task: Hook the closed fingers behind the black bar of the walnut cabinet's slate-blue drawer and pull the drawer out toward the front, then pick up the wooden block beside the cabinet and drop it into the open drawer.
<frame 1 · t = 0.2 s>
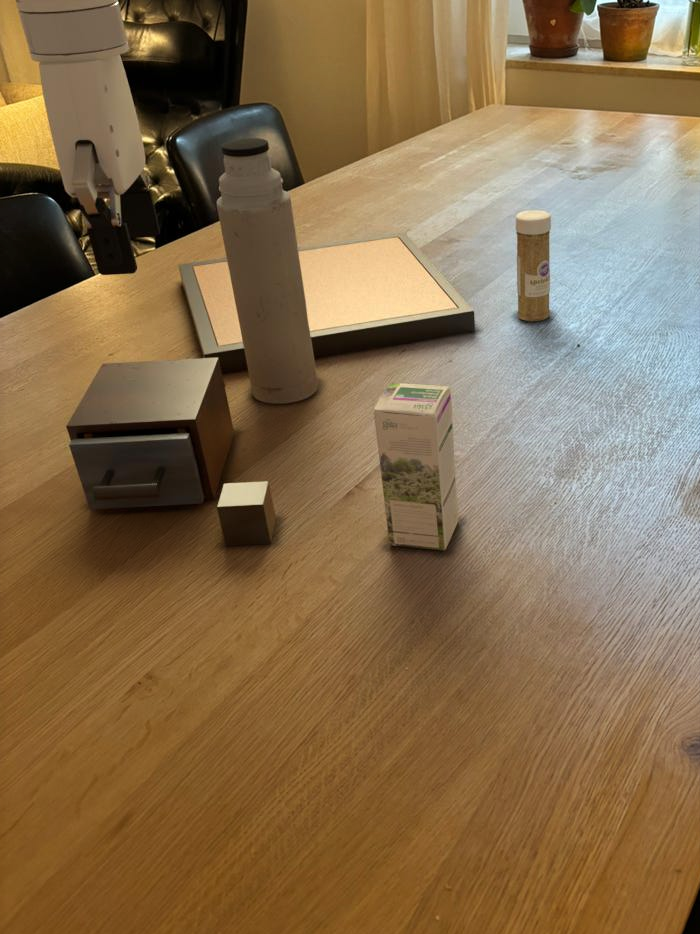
hand: (131, 254, 91), 25 cm above the table, tool pointing down, fingers open, 9 cm apart
syrup box: (424, 535, 99), on the table
block: (251, 532, 100), on the table
sprinkles bottle: (533, 317, 141), on the table
drawer: (146, 453, 104), point 5 cm above the table, slide at 1.0 cm
cabinet: (166, 467, 111), on the table
thermos bottle: (285, 391, 125), on the table
cork board: (319, 307, 146), on the table
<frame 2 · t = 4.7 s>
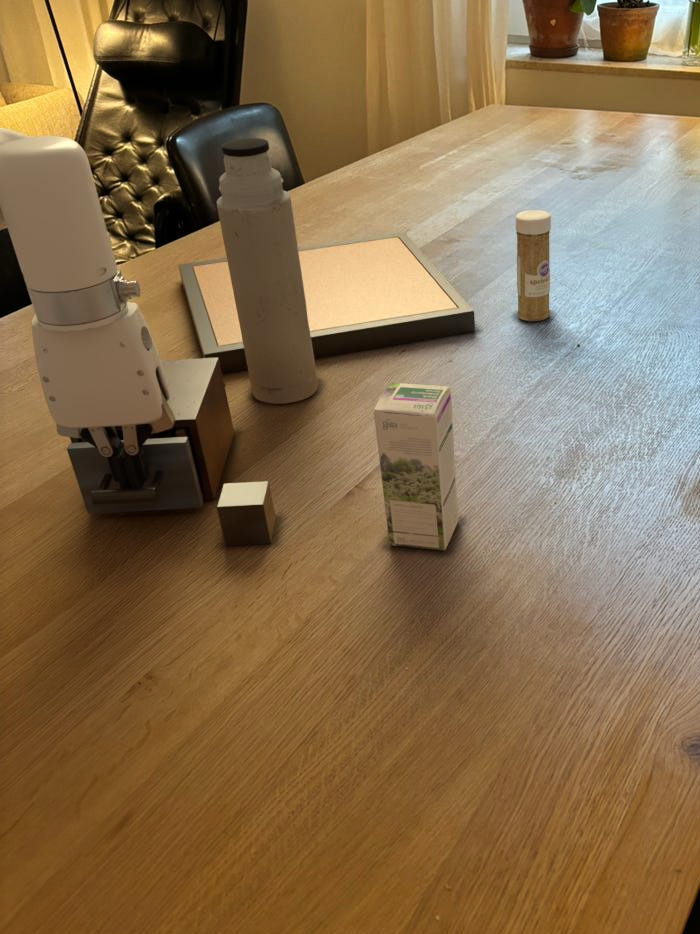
hand: (134, 485, 99), 5 cm above the table, tool pointing down, fingers closed
drawer: (145, 457, 104), point 5 cm above the table, slide at 1.8 cm
everything else where it was.
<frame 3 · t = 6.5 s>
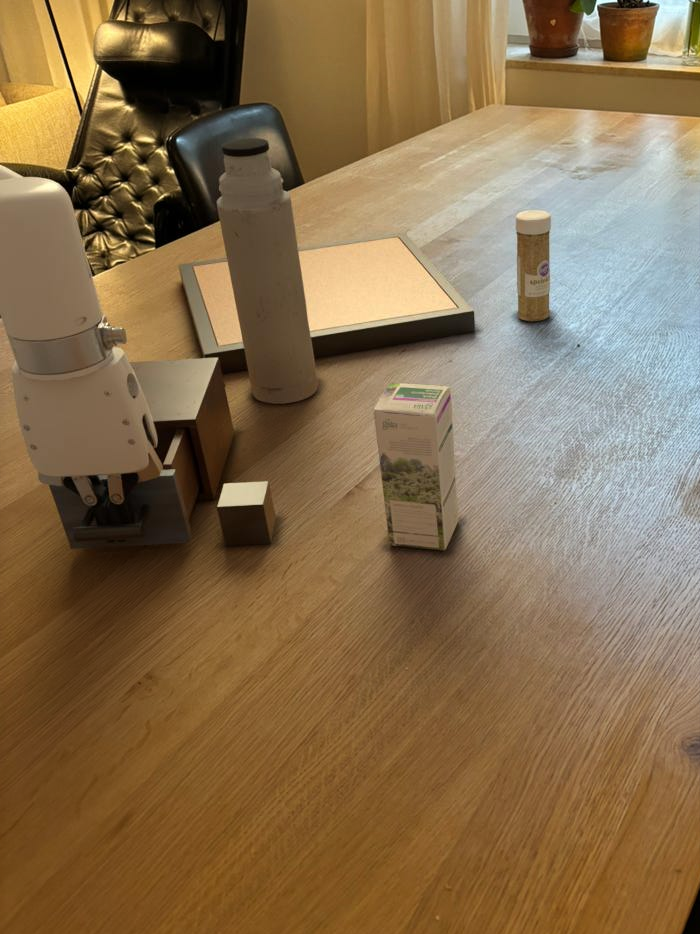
hand: (120, 534, 95), 3 cm above the table, tool pointing down, fingers closed
drawer: (131, 488, 99), point 5 cm above the table, slide at 8.1 cm
everything else where it was.
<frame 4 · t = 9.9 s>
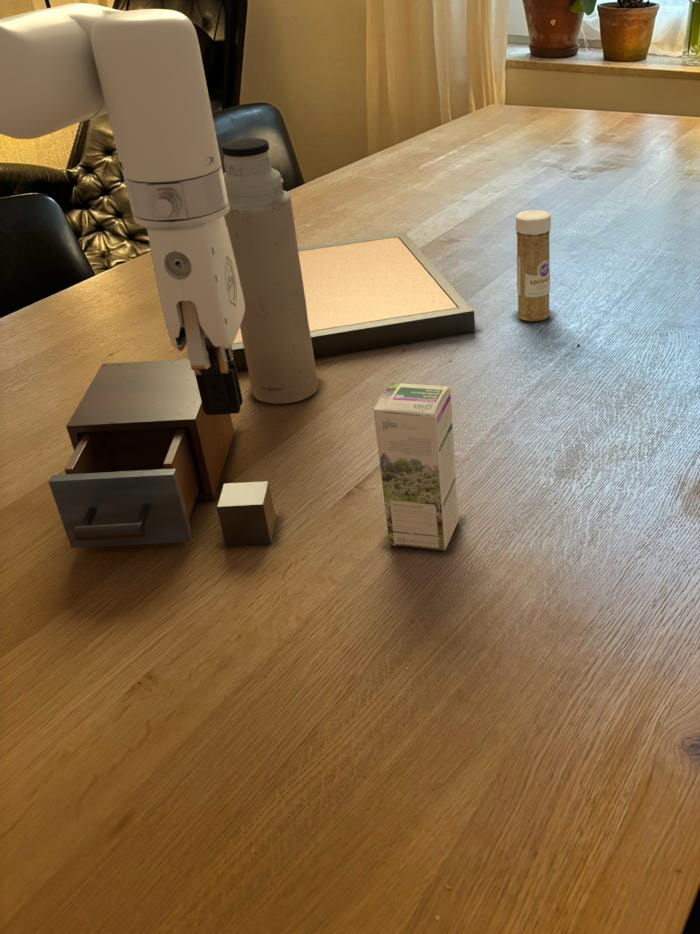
hand: (224, 408, 92), 13 cm above the table, tool pointing down, fingers closed
nothing on the table moved.
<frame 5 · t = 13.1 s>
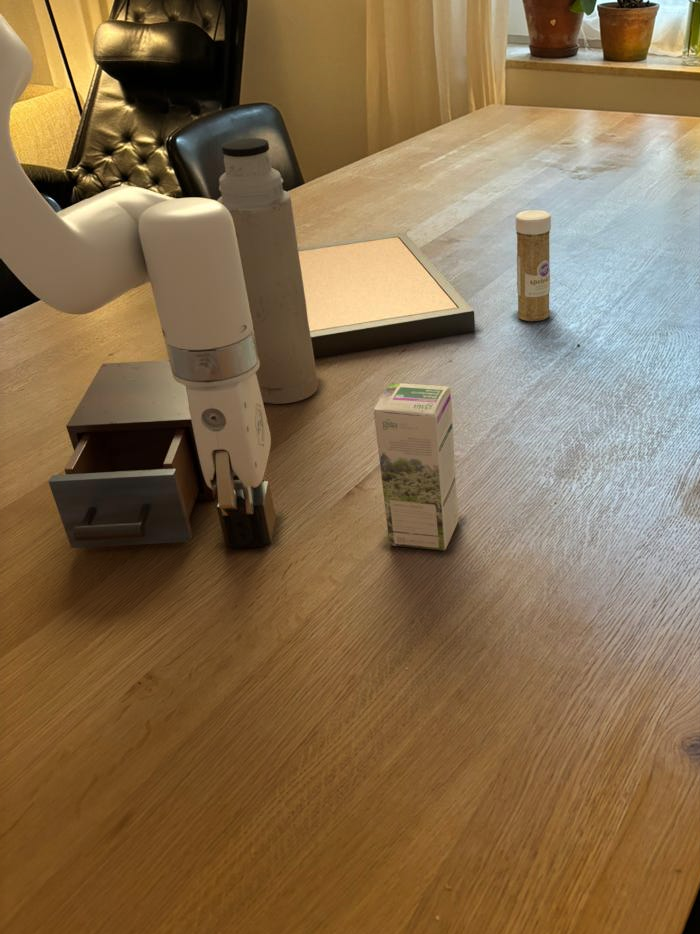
hand: (250, 529, 100), 0 cm above the table, tool pointing down, fingers closed on block, 4 cm apart
block: (251, 532, 100), on the table, touching gripper
everything else where it was.
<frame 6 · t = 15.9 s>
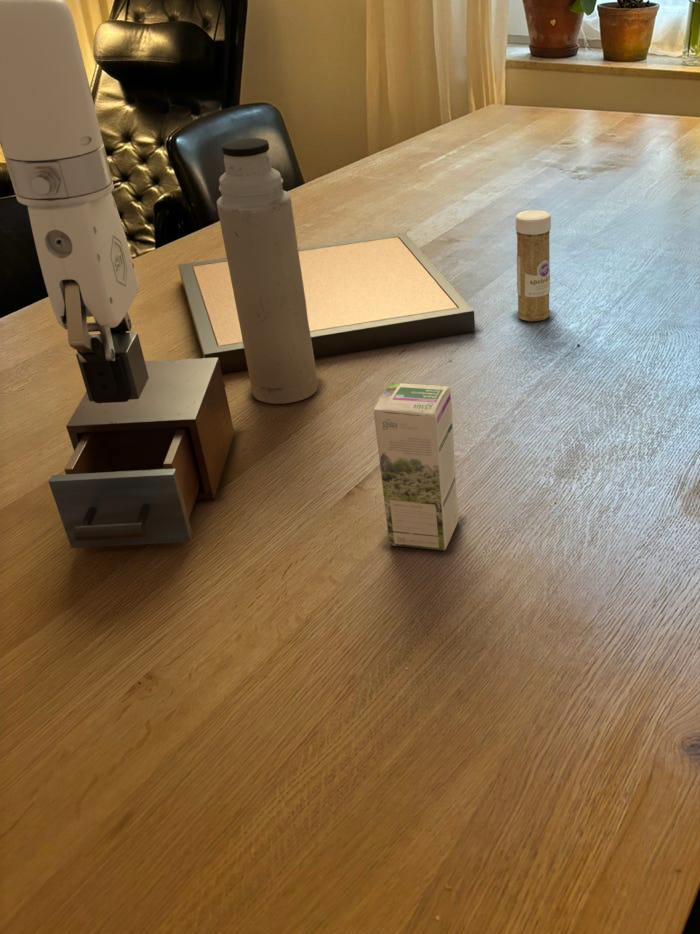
hand: (118, 386, 93), 15 cm above the table, tool pointing down, fingers closed on block, 4 cm apart
block: (119, 389, 93), point 15 cm above the table, touching gripper
everything else where it was.
when the fingers open (7 cm above the table, at t = 18.5 s): block drops 5 cm, point 2 cm above the table.
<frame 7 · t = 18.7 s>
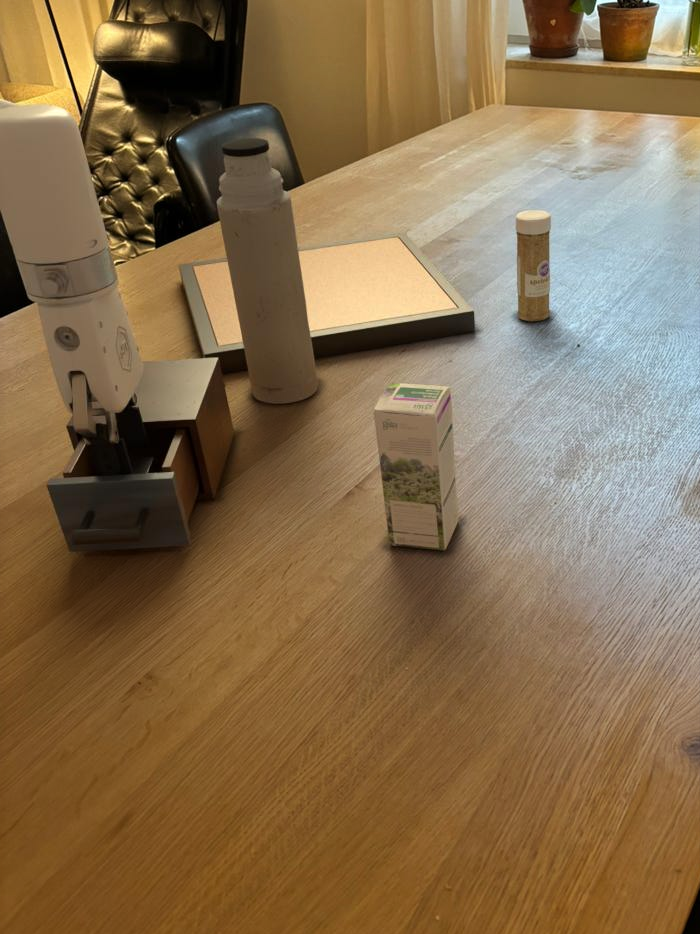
hand: (123, 460, 97), 7 cm above the table, tool pointing down, fingers open, 5 cm apart
block: (138, 508, 101), point 2 cm above the table
drawer: (130, 491, 99), point 5 cm above the table, slide at 8.6 cm, touching gripper
everything else where it was.
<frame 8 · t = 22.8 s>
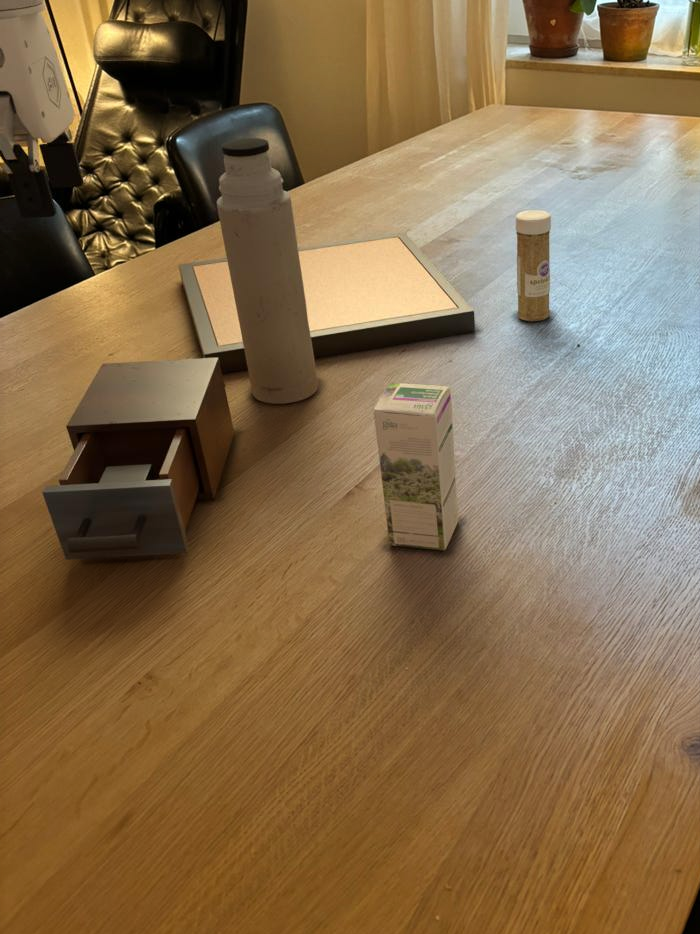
hand: (54, 201, 99), 26 cm above the table, tool pointing down, fingers open, 9 cm apart
block: (135, 516, 100), point 2 cm above the table, touching drawer
drawer: (127, 498, 98), point 5 cm above the table, slide at 9.9 cm, touching block
everything else where it was.
at the end: drawer slide at 9.9 cm; block inside the target area in the drawer (1.5 cm from its centre), point 2.0 cm above the cabinet's base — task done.
